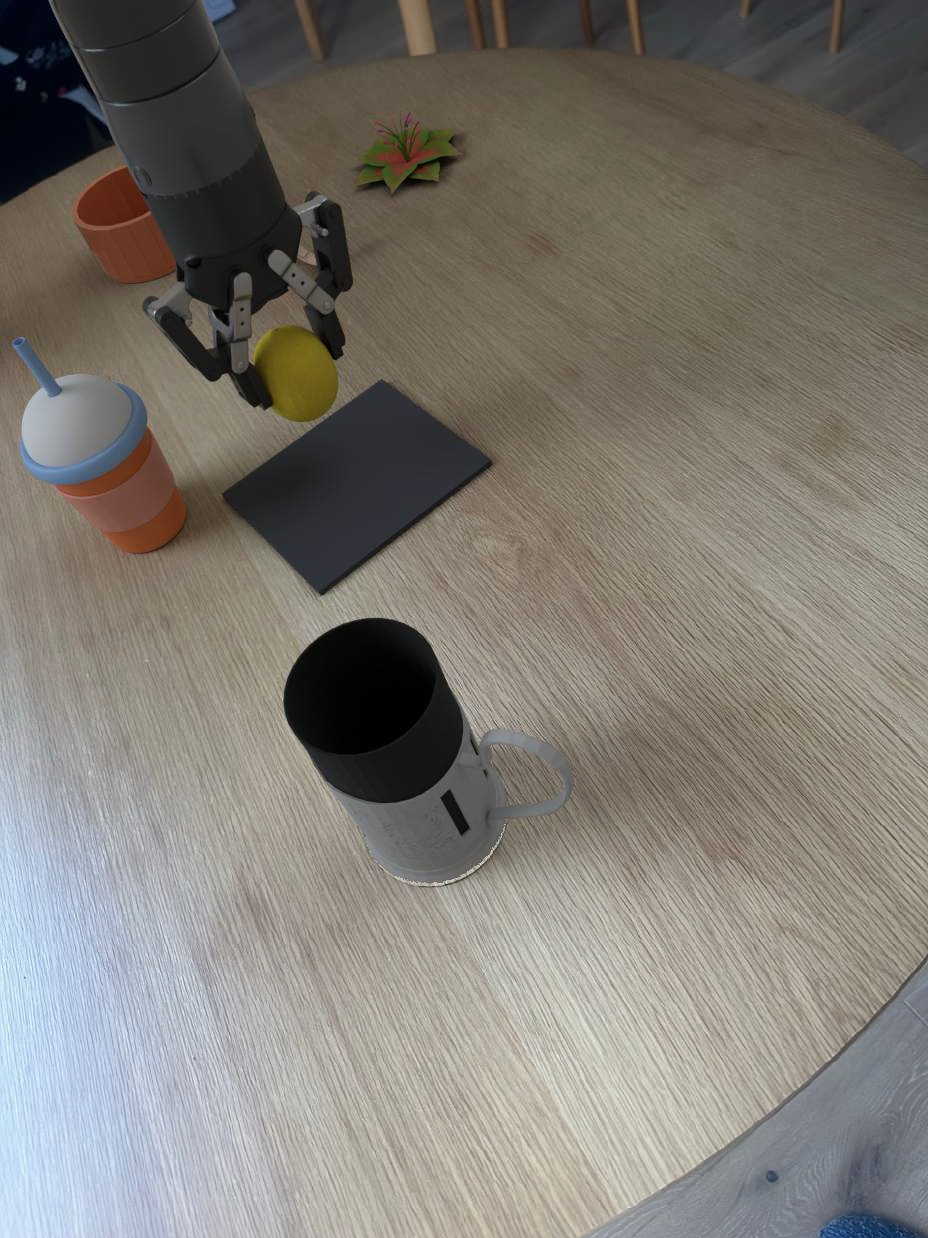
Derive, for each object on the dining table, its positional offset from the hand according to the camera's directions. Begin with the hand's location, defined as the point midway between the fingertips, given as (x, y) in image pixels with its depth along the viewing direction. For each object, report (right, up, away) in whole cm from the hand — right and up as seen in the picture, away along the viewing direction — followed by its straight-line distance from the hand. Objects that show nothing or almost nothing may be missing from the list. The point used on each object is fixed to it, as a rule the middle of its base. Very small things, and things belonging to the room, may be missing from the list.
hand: (297, 377), depth 68 cm
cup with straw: (-13, -9, +9) cm, 18 cm away
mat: (+3, -6, +6) cm, 10 cm away
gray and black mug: (+12, -29, -12) cm, 33 cm away
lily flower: (+6, +29, +30) cm, 42 cm away
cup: (-20, +21, +31) cm, 42 cm away
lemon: (+1, -2, +3) cm, 4 cm away
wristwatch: (-2, +17, +24) cm, 29 cm away
